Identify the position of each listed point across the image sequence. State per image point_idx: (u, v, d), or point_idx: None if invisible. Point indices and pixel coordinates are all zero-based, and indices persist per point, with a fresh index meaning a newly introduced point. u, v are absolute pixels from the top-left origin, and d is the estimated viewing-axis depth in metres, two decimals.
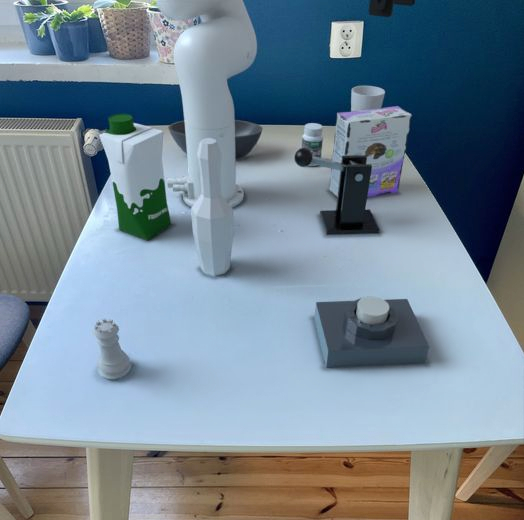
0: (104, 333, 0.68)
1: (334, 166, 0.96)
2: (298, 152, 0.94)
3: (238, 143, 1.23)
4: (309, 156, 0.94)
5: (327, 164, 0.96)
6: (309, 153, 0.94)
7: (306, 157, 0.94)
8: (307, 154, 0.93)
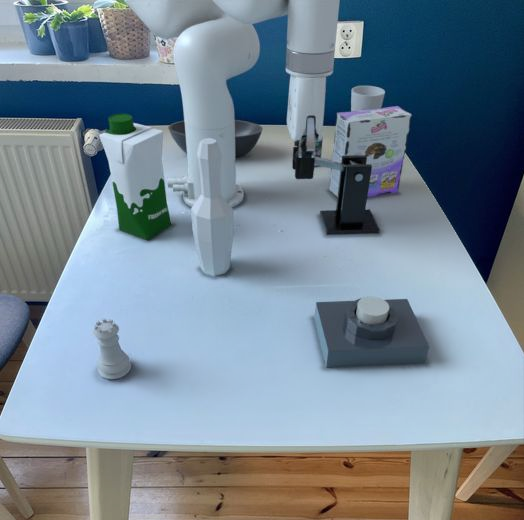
0: (104, 333, 0.68)
1: (334, 166, 0.96)
2: None
3: (238, 143, 1.23)
4: None
5: (327, 164, 0.96)
6: None
7: None
8: None
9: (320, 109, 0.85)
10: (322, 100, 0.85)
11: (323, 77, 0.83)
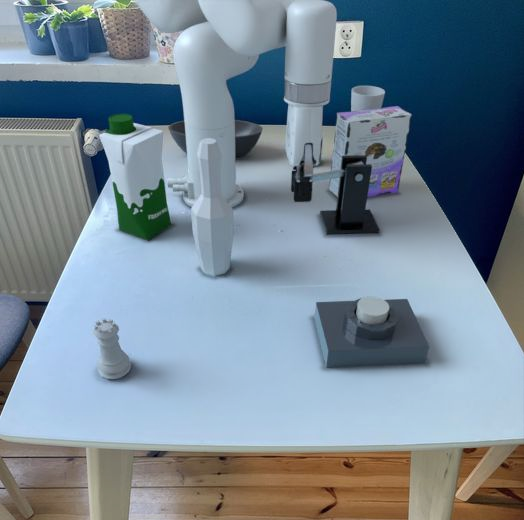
0: (104, 333, 0.68)
1: (333, 175, 0.97)
2: (293, 178, 0.97)
3: (238, 143, 1.23)
4: None
5: (325, 176, 0.97)
6: None
7: None
8: None
9: (317, 137, 0.88)
10: (319, 128, 0.87)
11: (320, 106, 0.86)
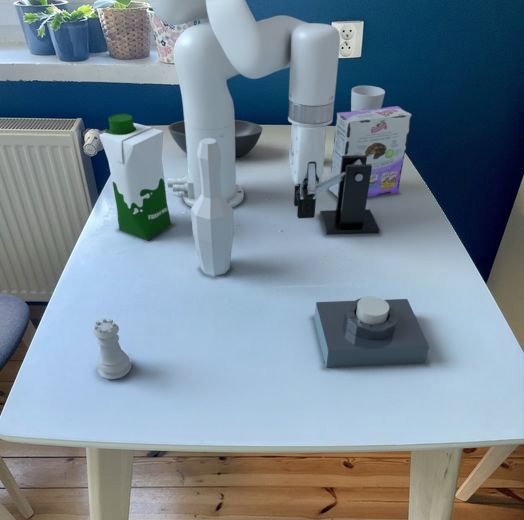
0: (104, 333, 0.68)
1: (334, 182, 0.98)
2: (297, 195, 0.99)
3: (238, 143, 1.23)
4: None
5: (327, 185, 0.98)
6: None
7: None
8: None
9: (320, 156, 0.90)
10: (322, 147, 0.90)
11: (323, 126, 0.88)
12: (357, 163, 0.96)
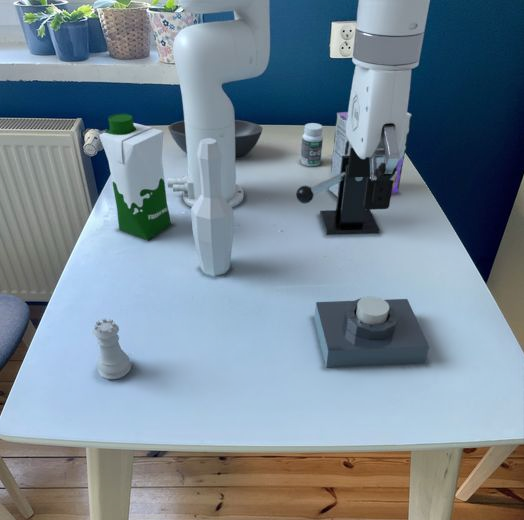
0: (104, 333, 0.68)
1: (334, 182, 0.98)
2: (297, 195, 0.99)
3: (238, 143, 1.23)
4: (307, 192, 0.98)
5: (327, 185, 0.98)
6: (305, 189, 0.98)
7: (305, 195, 0.98)
8: (304, 192, 0.98)
9: (402, 114, 0.61)
10: (405, 101, 0.61)
11: (408, 70, 0.59)
12: None
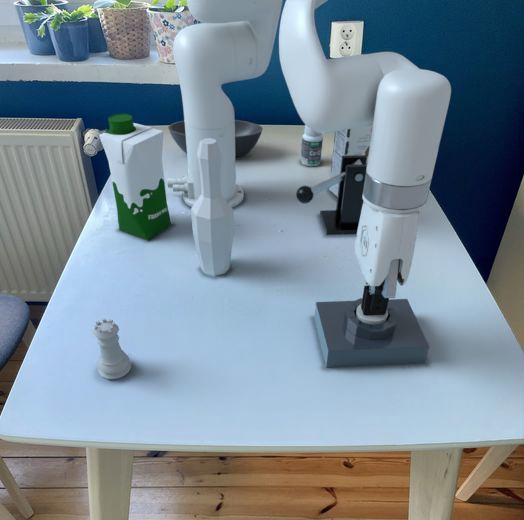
0: (104, 333, 0.68)
1: (334, 182, 0.98)
2: (297, 195, 0.99)
3: (238, 143, 1.23)
4: (307, 192, 0.98)
5: (327, 185, 0.98)
6: (305, 189, 0.98)
7: (305, 195, 0.98)
8: (304, 192, 0.98)
9: (409, 251, 0.64)
10: (412, 240, 0.63)
11: (416, 213, 0.62)
12: (357, 163, 0.96)
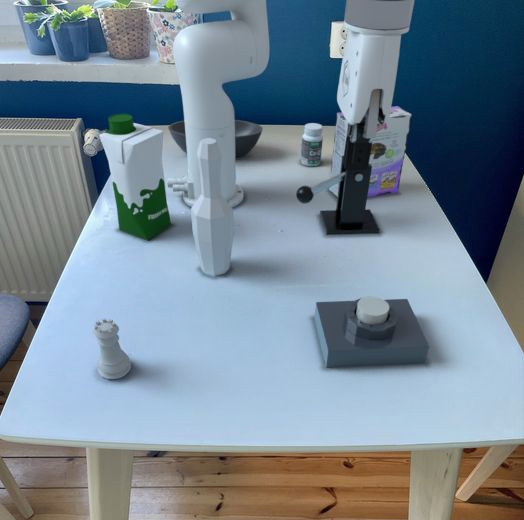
0: (104, 333, 0.68)
1: (334, 182, 0.98)
2: (297, 195, 0.99)
3: (238, 143, 1.23)
4: (307, 192, 0.98)
5: (327, 185, 0.98)
6: (305, 189, 0.98)
7: (305, 195, 0.98)
8: (304, 192, 0.98)
9: (391, 80, 0.62)
10: (393, 67, 0.61)
11: (398, 35, 0.60)
12: None
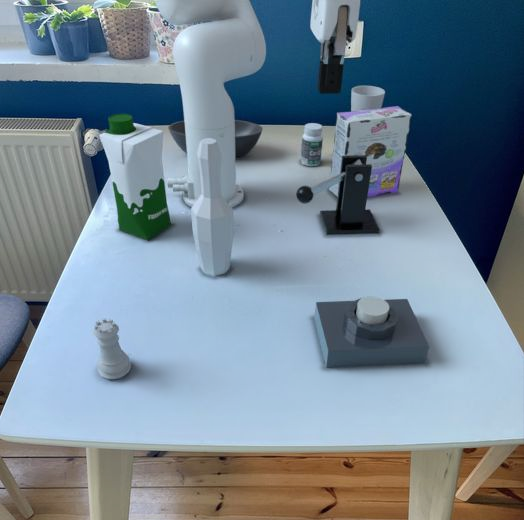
0: (104, 333, 0.68)
1: (334, 182, 0.98)
2: (297, 195, 0.99)
3: (238, 143, 1.23)
4: (307, 192, 0.98)
5: (327, 185, 0.98)
6: (305, 189, 0.98)
7: (305, 195, 0.98)
8: (304, 192, 0.98)
9: None
10: None
11: None
12: (357, 163, 0.96)
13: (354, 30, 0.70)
